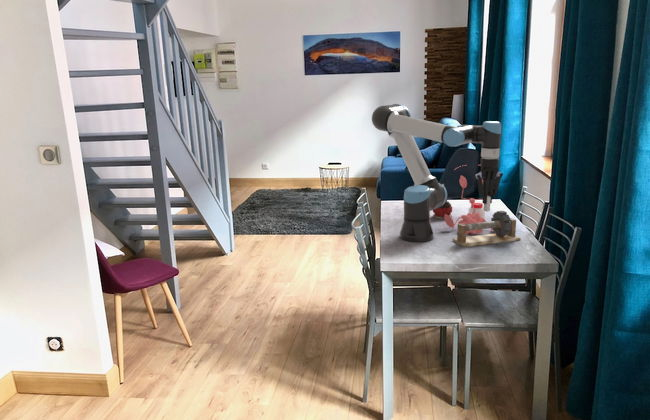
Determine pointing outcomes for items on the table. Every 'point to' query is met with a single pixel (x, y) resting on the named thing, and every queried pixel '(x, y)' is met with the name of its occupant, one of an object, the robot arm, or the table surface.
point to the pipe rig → (484, 239)
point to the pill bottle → (477, 209)
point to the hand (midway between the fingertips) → (486, 210)
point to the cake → (443, 210)
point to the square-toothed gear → (502, 223)
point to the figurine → (469, 217)
